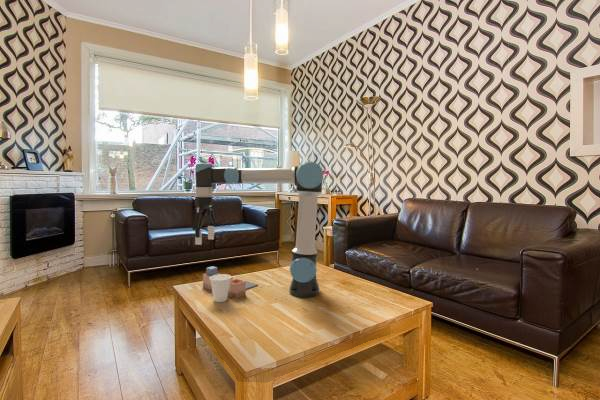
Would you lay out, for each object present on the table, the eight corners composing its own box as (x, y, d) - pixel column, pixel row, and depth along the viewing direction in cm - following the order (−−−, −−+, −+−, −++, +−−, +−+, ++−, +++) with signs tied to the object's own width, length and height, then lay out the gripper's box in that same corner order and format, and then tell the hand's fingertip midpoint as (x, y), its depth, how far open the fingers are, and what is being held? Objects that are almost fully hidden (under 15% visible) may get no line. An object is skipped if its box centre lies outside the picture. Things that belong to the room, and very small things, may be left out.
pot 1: (213, 284, 172) (213, 271, 171) (220, 287, 168) (220, 274, 167) (202, 287, 167) (202, 274, 166) (210, 290, 163) (210, 276, 162)
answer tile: (245, 281, 177) (245, 280, 177) (258, 285, 171) (258, 284, 171) (231, 286, 169) (231, 285, 169) (244, 290, 163) (244, 289, 163)
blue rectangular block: (212, 281, 170) (212, 266, 169) (217, 282, 167) (217, 267, 167) (206, 282, 167) (206, 267, 166) (211, 284, 164) (211, 269, 164)
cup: (225, 305, 143) (225, 281, 143) (205, 303, 145) (205, 279, 145) (234, 297, 153) (234, 274, 152) (215, 295, 155) (215, 273, 154)
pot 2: (236, 292, 160) (236, 278, 160) (245, 295, 156) (245, 281, 156) (226, 295, 155) (226, 281, 155) (235, 298, 151) (235, 284, 151)
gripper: (207, 195, 161) (208, 237, 162) (183, 197, 136) (184, 246, 137) (222, 195, 160) (222, 237, 161) (200, 197, 135) (200, 247, 136)
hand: (205, 241), depth 149 cm, fingers open, 13 cm apart
